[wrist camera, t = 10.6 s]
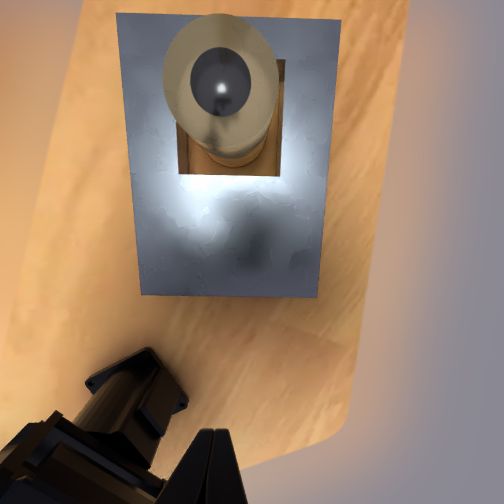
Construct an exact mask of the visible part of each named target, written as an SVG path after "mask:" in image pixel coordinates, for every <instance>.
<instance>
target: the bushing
mask: <svg viewBox="0 0 504 504" xmlns="http://www.w3.org/2000/svg"><path fill="white" fill-rule="evenodd" d="M162 82H163V91H164V95H165V99H166V102H167V105H168V107H169V109H170V111H171V113H172V115H173V117H174V118H175V120H176V121H177V122H178V124H179V125H180V126H181V127H182V128H183V129H184V130H185V131H186V132H187V133H188V134H189V136H190V137H191V138H192V139H193V140H194V141H195V142H196V143H197V144H198V145H199V146H200V147H201V148H202V149H203V150H204V151H205V152H206V153H207V154H208V155H209V156H210V157H211V158H212V159H213V160H214V161H216V162H217V163H219V164H221V165H224V166H228V167H239V166H243V165H246V164H248V163H250V162H251V161H253V160H254V159H255V158H256V157H257V156H258V155H259V153H260V152H261V150H262V148H263V146H264V143H265V140H266V137H267V133H268V130H269V126H270V122H271V119H272V115H273V112H274V108H275V104H276V101H277V96H278V89H279V74H278V67H277V63H276V59H275V57H274V54H273V51H272V49H271V48H270V46H269V44H268V42H267V41H266V39H265V38H264V37H263V35H262V34H261V33H260V32H259V31H258V30H257V29H256V28H255V27H254V26H252V25H251V24H250V23H248V22H246V21H245V20H243V19H241V18H238V17H236V16H232V15H229V14H209V15H205V16H202V17H199V18H197V19H195V20H193V21H191V22H190V23H188V24H187V25H186V26H185V27H183V28H182V29H181V30H180V31H179V32H178V34H177V35H176V36H175V38H174V39H173V40H172V42H171V44H170V46H169V48H168V51H167V53H166V56H165V60H164V64H163V72H162Z"/></svg>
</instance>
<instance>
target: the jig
mask: <svg viewBox="0 0 504 504" xmlns="http://www.w3.org/2000/svg"><path fill="white" fill-rule="evenodd" d="M202 16H205V15H176V14H145V13H116V21H117V32H118V43H119V54H120V66H121V77H122V88H123V99H124V110H125V121H126V132H127V143H128V154H129V165H130V176H131V187H132V198H133V209H134V221H135V232H136V243H137V254H138V265H139V276H140V287H141V295H166V296H232V297H298V298H317V291H318V280H319V268H320V257H321V246H322V234H323V223H324V212H325V200H326V189H327V178H328V166H329V155H330V144H331V132H332V121H333V110H334V98H335V87H336V76H337V64H338V53H339V42H340V30H341V20H331V19H300V18H269V17H238V16H236V17H238V18H241V19H243V20H245V21H246V22H248V23H250V24H251V25H252V26H254V27H255V28H256V29H257V30H258V31H259V32H260V33H261V34H262V35H263V37H264V38H265V39H266V41H267V42H268V44H269V46H270V48H271V49H272V51H273V54H274V57H275V59H276V63H277V67H278V74H279V81H280V91H279V115H278V139H277V163H276V177H273V176H228V175H189V173H188V146H187V132H186V131H185V130H184V129H183V128H182V127H181V126H180V125H179V124H178V122H177V121H176V120H175V118H174V117H173V115H172V113H171V111H170V109H169V107H168V105H167V102H166V99H165V95H164V91H163V82H162V72H163V64H164V60H165V56H166V53H167V51H168V48H169V46H170V44H171V42H172V40H173V39H174V38H175V36H176V35H177V34H178V32H179V31H180V30H181V29H182V28H183V27H185V26H186V25H187V24H188V23H190V22H191V21H193V20H195V19H197V18H199V17H202Z"/></svg>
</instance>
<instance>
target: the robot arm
mask: <svg viewBox="0 0 504 504" xmlns="http://www.w3.org/2000/svg"><path fill="white" fill-rule="evenodd" d="M145 353H147V354H148V355H145ZM85 385H86V387H87V388H88V389H89V390H90V392H91V393H92V394H93V396H92V398H91V399H90V400H89V401H88V403H87V404H86V405H85V406H84V408H83V409H82V410H81V412H80V413H79V414H78V415H77V417H76V418H75V419H74V420H73V422H70V421H68V420H67V419H65V418H64V417H62V416H63V414H61V413H60V412H58V411H57V410H56V411H55V412H54V413H53V414H52V415H51V416H50V417H49V418H48V419H47V420H46V421H45V422H44V421H42V420H41V421H40V422H39V423H28V424H27V425H26V426H25V427H24V428H23V429H22V430H21V431H20V432H19V433H18V434H17V435H16V436H15V437H14V438H13V439H12V440H11V441H10V442H9V443H8V444H7V445H6V446H5V447H4V448H3V449H2V450H1V451H0V504H248V501H247V498H246V494H245V490H244V486H243V482H242V478H241V475H240V471H239V467H238V463H237V459H236V455H235V452H234V448H233V444H232V440H231V436H230V432H229V430H228V429H215V431H214V429H208V428H203V429H201V430H200V431H199V432H198V433H197V435H196V437H195V438H194V440H193V441H192V443H191V445H190V446H189V448H188V449H187V451H186V452H185V454H184V456H183V457H182V459H181V460H180V462H179V464H178V465H177V467H176V468H175V470H174V472H173V473H172V475H171V476H170V478H169V479H168V481H167V480H165V479H164V478H163V479H160V478H159V477H157V476H155V475H154V474H152V473H151V472H149V471H148V469H150V467H151V464H152V462H153V459H154V456H155V454H156V451H157V448H158V445H159V443H160V440H161V437H163V436H164V435H165V433H166V430H167V427H168V425H169V422H170V419H171V416H172V415H173V414H175V413H177V412H180V411H182V410H184V409H186V408H187V406H188V403H189V399H188V398H187V396H186V395H185V394H184V392H183V391H182V389H181V388H180V386H179V385H178V384H177V382H176V381H175V380H174V378H173V377H172V376H171V374H170V373H169V371H168V370H167V369H166V368H165V366H164V365H163V364H162V362H161V361H160V360H159V358H158V357H157V356H156V354H155V353H154V351H153V350H152V349H151V348H144V349H142V350H140V351H138V352H136V353H134V354H132V355H130V356H128V357H126V358H124V359H122V360H120V361H118V362H117V363H115V364H113V365H111V366H109V367H107V368H105V369H103V370H101V371H99V372H97V373H95V374H93V375H92V376H90V377H89V378H88V379H87V380H86V381H85ZM181 402H183V403H181Z"/></svg>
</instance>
